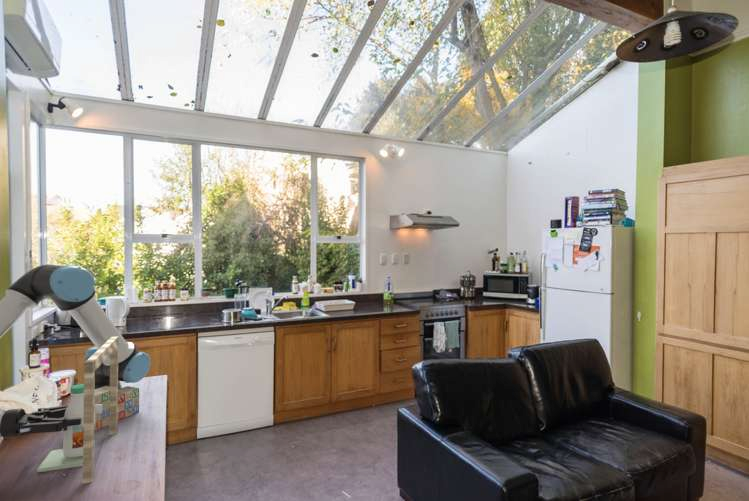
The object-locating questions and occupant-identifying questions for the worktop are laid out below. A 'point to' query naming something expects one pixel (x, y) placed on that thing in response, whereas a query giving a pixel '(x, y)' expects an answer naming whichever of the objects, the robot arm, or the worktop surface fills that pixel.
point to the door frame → (89, 394)
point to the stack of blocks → (126, 404)
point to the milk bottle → (75, 433)
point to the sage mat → (59, 461)
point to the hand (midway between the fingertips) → (98, 413)
